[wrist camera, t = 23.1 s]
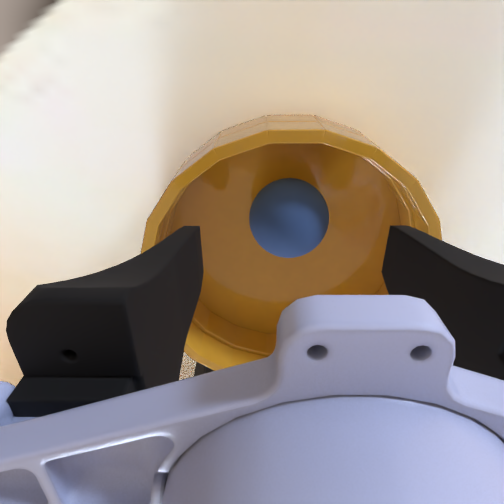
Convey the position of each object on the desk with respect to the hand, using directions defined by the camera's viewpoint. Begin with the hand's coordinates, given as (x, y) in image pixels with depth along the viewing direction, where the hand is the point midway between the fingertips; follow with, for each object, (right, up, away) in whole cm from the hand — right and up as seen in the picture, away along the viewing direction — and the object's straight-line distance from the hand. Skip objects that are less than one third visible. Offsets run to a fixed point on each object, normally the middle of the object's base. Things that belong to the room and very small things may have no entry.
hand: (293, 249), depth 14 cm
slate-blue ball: (0, +1, +3) cm, 3 cm away
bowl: (0, 0, +6) cm, 6 cm away
